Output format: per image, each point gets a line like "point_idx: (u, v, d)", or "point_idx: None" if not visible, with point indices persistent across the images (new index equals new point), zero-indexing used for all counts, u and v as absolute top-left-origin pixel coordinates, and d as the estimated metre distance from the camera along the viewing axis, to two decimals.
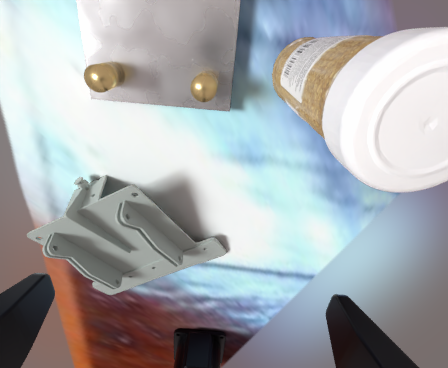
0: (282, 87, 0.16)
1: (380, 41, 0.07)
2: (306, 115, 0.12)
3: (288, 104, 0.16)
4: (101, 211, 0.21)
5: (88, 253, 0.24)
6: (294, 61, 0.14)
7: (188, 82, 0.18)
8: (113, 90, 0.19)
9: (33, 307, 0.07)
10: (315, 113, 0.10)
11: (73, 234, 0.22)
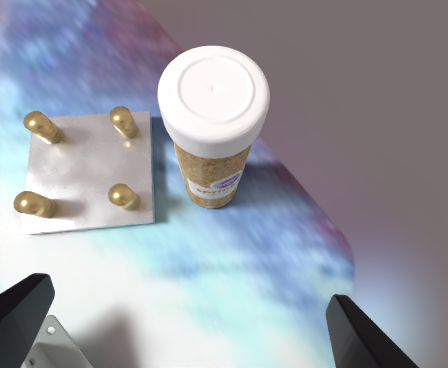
0: (185, 180, 0.19)
1: None
2: (181, 161, 0.14)
3: (191, 189, 0.18)
4: None
5: None
6: None
7: (113, 203, 0.21)
8: (44, 222, 0.20)
9: (33, 307, 0.07)
10: (174, 142, 0.13)
11: None
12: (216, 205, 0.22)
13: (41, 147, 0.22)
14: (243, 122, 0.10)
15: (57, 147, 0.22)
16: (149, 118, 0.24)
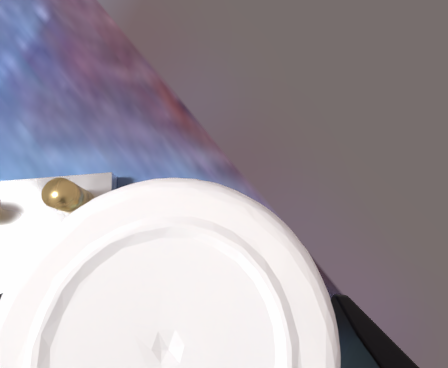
0: None
1: None
2: None
3: None
4: None
5: None
6: None
7: None
8: None
9: None
10: None
11: None
12: None
13: None
14: None
15: None
16: (111, 183, 0.16)
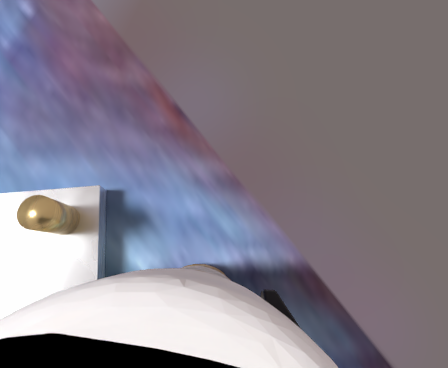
0: (144, 345, 0.10)
1: None
2: None
3: None
4: None
5: None
6: None
7: None
8: None
9: None
10: None
11: None
12: None
13: None
14: None
15: None
16: (99, 198, 0.15)
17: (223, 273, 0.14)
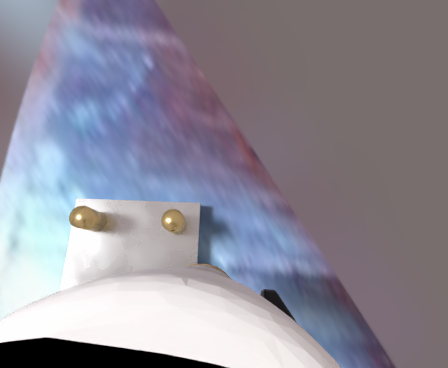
0: None
1: None
2: None
3: None
4: None
5: None
6: None
7: None
8: None
9: None
10: None
11: None
12: None
13: (82, 234, 0.21)
14: None
15: (99, 236, 0.21)
16: (199, 211, 0.22)
17: (224, 272, 0.14)
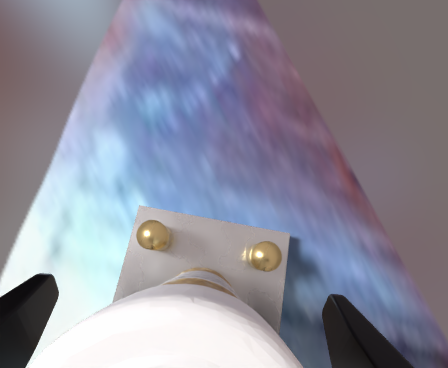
0: None
1: None
2: None
3: None
4: None
5: None
6: None
7: None
8: None
9: (38, 307, 0.07)
10: None
11: None
12: None
13: (141, 252, 0.16)
14: None
15: (162, 258, 0.16)
16: (287, 244, 0.17)
17: (222, 276, 0.16)
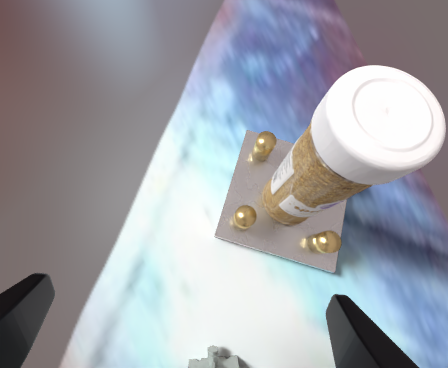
0: (274, 195, 0.19)
1: None
2: (301, 179, 0.14)
3: (283, 205, 0.18)
4: None
5: None
6: (279, 167, 0.18)
7: (302, 240, 0.21)
8: (237, 233, 0.21)
9: (33, 307, 0.07)
10: (307, 160, 0.12)
11: None
12: (295, 222, 0.21)
13: (248, 160, 0.23)
14: (424, 152, 0.09)
15: (262, 165, 0.23)
16: None
17: None
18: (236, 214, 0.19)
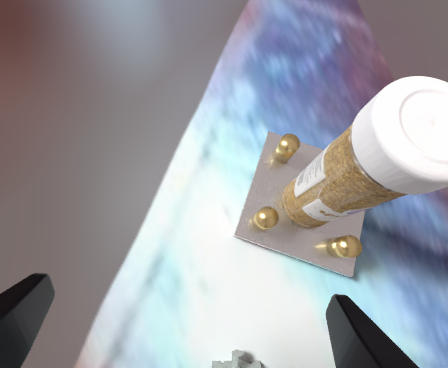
0: (297, 198, 0.19)
1: None
2: (332, 184, 0.14)
3: (307, 208, 0.18)
4: None
5: None
6: (305, 170, 0.18)
7: (320, 243, 0.22)
8: (256, 233, 0.22)
9: (33, 307, 0.07)
10: (342, 166, 0.13)
11: None
12: (315, 225, 0.21)
13: (269, 161, 0.23)
14: None
15: (283, 167, 0.23)
16: None
17: None
18: (258, 215, 0.19)
